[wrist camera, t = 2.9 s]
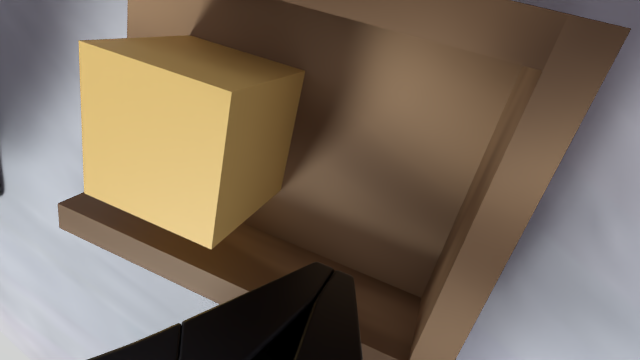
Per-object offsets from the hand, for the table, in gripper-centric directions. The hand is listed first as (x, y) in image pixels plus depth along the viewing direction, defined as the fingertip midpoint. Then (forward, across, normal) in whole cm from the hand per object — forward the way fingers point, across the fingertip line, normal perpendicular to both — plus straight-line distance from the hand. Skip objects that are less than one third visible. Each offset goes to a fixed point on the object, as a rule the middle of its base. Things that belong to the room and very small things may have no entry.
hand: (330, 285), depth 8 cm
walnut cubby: (+8, +4, 0) cm, 9 cm away
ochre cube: (+7, +7, 0) cm, 10 cm away
